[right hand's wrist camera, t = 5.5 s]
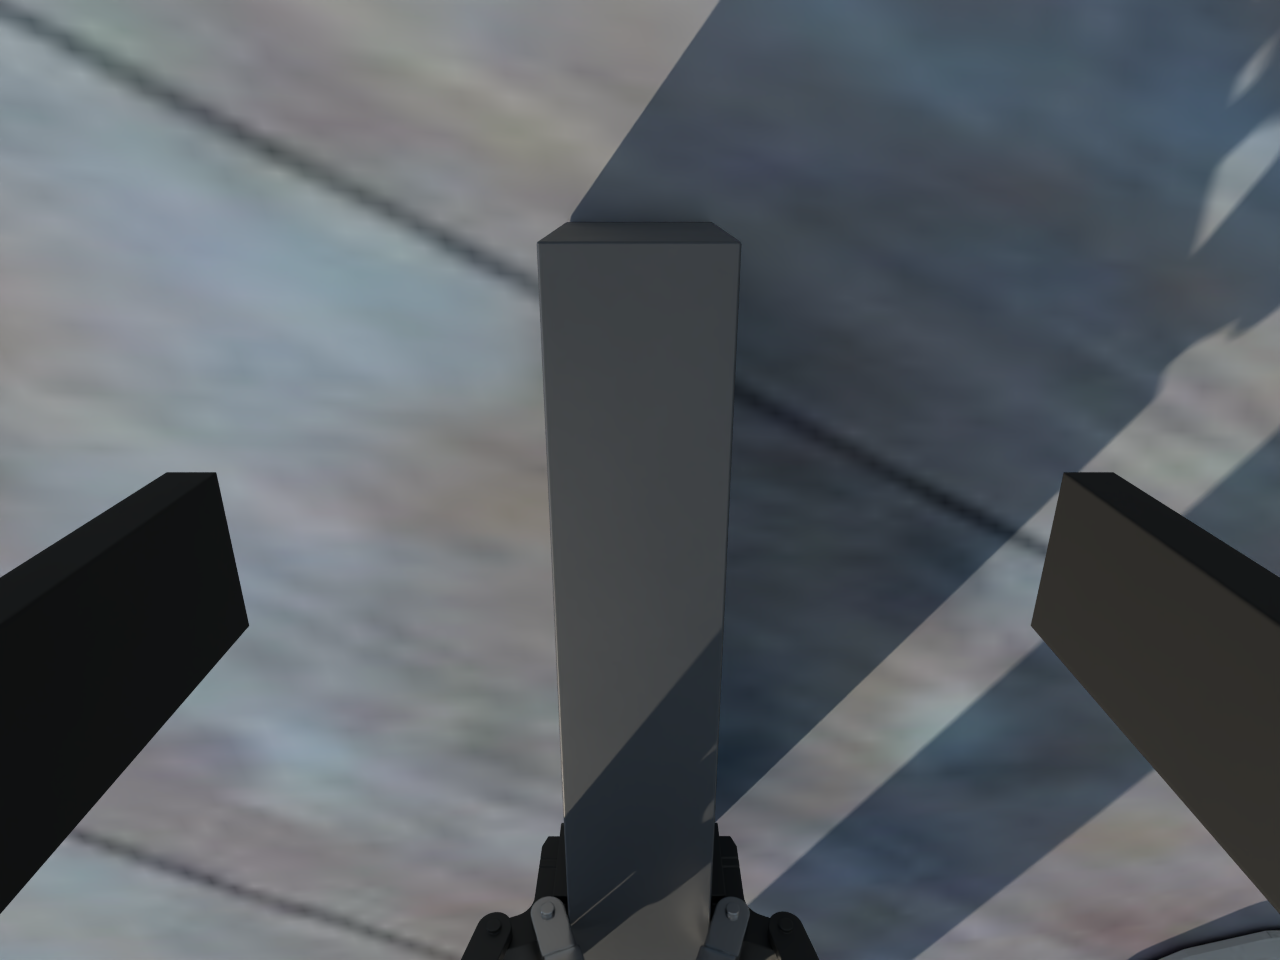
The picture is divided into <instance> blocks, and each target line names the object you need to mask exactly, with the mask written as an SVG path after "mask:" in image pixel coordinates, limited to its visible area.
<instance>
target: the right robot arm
mask: <svg viewBox="0 0 1280 960" xmlns="http://www.w3.org/2000/svg"><path fill="white" fill-rule="evenodd" d="M248 626H249V623H248V618H247V614H246V609H245V604H244V600H243V595H242V590H241V586H240V581H239V576H238V572H237V567H236V562H235V558H234V553H233V548H232V544H231V539H230V534H229V530H228V525H227V521H226V516H225V511H224V507H223V502H222V497H221V493H220V488H219V483H218V479H217V474H216V472H167V473H165V474H163V475H162V476H160V477H159V478H157V479H156V480H154V481H152V482H151V483H149V484H148V485H146V486H144V487H143V488H141V489H140V490H138V491H137V492H135V493H133V494H132V495H130V496H129V497H127V498H126V499H124V500H122V501H121V502H119V503H118V504H116V505H114V506H113V507H111V508H110V509H108V510H107V511H105V512H103V513H102V514H100V515H99V516H97V517H95V518H94V519H92V520H91V521H89V522H88V523H86V524H84V525H83V526H81V527H80V528H78V529H76V530H75V531H73V532H72V533H70V534H69V535H67V536H65V537H64V538H62V539H61V540H59V541H57V542H56V543H54V544H53V545H51V546H50V547H48V548H46V549H45V550H43V551H42V552H40V553H39V554H37V555H35V556H34V557H32V558H31V559H29V560H27V561H26V562H24V563H23V564H21V565H20V566H18V567H16V568H15V569H13V570H12V571H10V572H8V573H7V574H5V575H4V576H2V577H1V578H0V914H1V912H2V911H3V910H4V909H5V908H6V907H7V906H8V904H9V903H10V902H11V901H12V900H13V899H14V897H15V896H16V895H17V894H18V893H19V892H20V890H21V889H22V888H23V887H24V886H25V885H26V884H27V882H28V881H29V880H30V879H31V878H32V877H33V875H34V874H35V873H36V872H37V871H38V870H39V868H40V867H41V866H42V865H43V864H44V863H45V862H46V860H47V859H48V858H49V857H50V856H51V855H52V853H53V852H54V851H55V850H56V849H57V848H58V846H59V845H60V844H61V843H62V842H63V841H64V840H65V838H66V837H67V836H68V835H69V834H70V833H71V831H72V830H73V829H74V828H75V827H76V826H77V824H78V823H79V822H80V821H81V820H82V819H83V818H84V816H85V815H86V814H87V813H88V812H89V811H90V809H91V808H92V807H93V806H94V805H95V804H96V802H97V801H98V800H99V799H100V798H101V797H102V796H103V794H104V793H105V792H106V791H107V790H108V789H109V787H110V786H111V785H112V784H113V783H114V782H115V780H116V779H117V778H118V777H119V776H120V775H121V774H122V772H123V771H124V770H125V769H126V768H127V767H128V765H129V764H130V763H131V762H132V761H133V760H134V758H135V757H136V756H137V755H138V754H139V753H140V752H141V750H142V749H143V748H144V747H145V746H146V745H147V743H148V742H149V741H150V740H151V739H152V738H153V736H154V735H155V734H156V733H157V732H158V731H159V730H160V728H161V727H162V726H163V725H164V724H165V723H166V721H167V720H168V719H169V718H170V717H171V716H172V714H173V713H174V712H175V711H176V710H177V709H178V708H179V706H180V705H181V704H182V703H183V702H184V701H185V699H186V698H187V697H188V696H189V695H190V694H191V692H192V691H193V690H194V689H195V688H196V687H197V686H198V684H199V683H200V682H201V681H202V680H203V679H204V677H205V676H206V675H207V674H208V673H209V672H210V670H211V669H212V668H213V667H214V666H215V665H216V664H217V662H218V661H219V660H220V659H221V658H222V657H223V655H224V654H225V653H226V652H227V651H228V650H229V648H230V647H231V646H232V645H233V644H234V643H235V642H236V640H237V639H238V638H239V637H240V636H241V635H242V633H243V632H244V631H245V630H246V629H247V628H248ZM1031 626H1032V628H1033V629H1034V630H1035V631H1036V632H1037V633H1038V635H1039V636H1040V637H1041V638H1042V639H1043V640H1044V642H1045V643H1046V644H1047V645H1048V646H1049V647H1050V648H1051V650H1052V651H1053V652H1054V653H1055V654H1056V655H1057V657H1058V658H1059V659H1060V660H1061V661H1062V662H1063V664H1064V665H1065V666H1066V667H1067V668H1068V669H1069V670H1070V672H1071V673H1072V674H1073V675H1074V676H1075V677H1076V679H1077V680H1078V681H1079V682H1080V683H1081V684H1082V686H1083V687H1084V688H1085V689H1086V690H1087V691H1088V692H1089V694H1090V695H1091V696H1092V697H1093V698H1094V699H1095V701H1096V702H1097V703H1098V704H1099V705H1100V706H1101V708H1102V709H1103V710H1104V711H1105V712H1106V713H1107V714H1108V716H1109V717H1110V718H1111V719H1112V720H1113V721H1114V723H1115V724H1116V725H1117V726H1118V727H1119V728H1120V730H1121V731H1122V732H1123V733H1124V734H1125V735H1126V736H1127V738H1128V739H1129V740H1130V741H1131V742H1132V743H1133V745H1134V746H1135V747H1136V748H1137V749H1138V750H1139V752H1140V753H1141V754H1142V755H1143V756H1144V757H1145V758H1146V760H1147V761H1148V762H1149V763H1150V764H1151V765H1152V767H1153V768H1154V769H1155V770H1156V771H1157V772H1158V774H1159V775H1160V776H1161V777H1162V778H1163V779H1164V780H1165V782H1166V783H1167V784H1168V785H1169V786H1170V787H1171V789H1172V790H1173V791H1174V792H1175V793H1176V794H1177V796H1178V797H1179V798H1180V799H1181V800H1182V801H1183V802H1184V804H1185V805H1186V806H1187V807H1188V808H1189V809H1190V811H1191V812H1192V813H1193V814H1194V815H1195V816H1196V818H1197V819H1198V820H1199V821H1200V822H1201V823H1202V824H1203V826H1204V827H1205V828H1206V829H1207V830H1208V831H1209V833H1210V834H1211V835H1212V836H1213V837H1214V838H1215V840H1216V841H1217V842H1218V843H1219V844H1220V845H1221V846H1222V848H1223V849H1224V850H1225V851H1226V852H1227V853H1228V855H1229V856H1230V857H1231V858H1232V859H1233V860H1234V862H1235V863H1236V864H1237V865H1238V866H1239V867H1240V868H1241V870H1242V871H1243V872H1244V873H1245V874H1246V875H1247V877H1248V878H1249V879H1250V880H1251V881H1252V882H1253V884H1254V885H1255V886H1256V887H1257V888H1258V889H1259V890H1260V892H1261V893H1262V894H1263V895H1264V896H1265V897H1266V899H1267V900H1268V901H1269V902H1270V903H1271V904H1272V906H1273V907H1274V908H1275V909H1276V910H1277V911H1278V912H1279V914H1280V578H1279V577H1278V576H1276V575H1275V574H1273V573H1272V572H1270V571H1268V570H1267V569H1265V568H1264V567H1262V566H1260V565H1259V564H1257V563H1256V562H1254V561H1253V560H1251V559H1249V558H1248V557H1246V556H1245V555H1243V554H1241V553H1240V552H1238V551H1237V550H1235V549H1234V548H1232V547H1230V546H1229V545H1227V544H1226V543H1224V542H1223V541H1221V540H1219V539H1218V538H1216V537H1215V536H1213V535H1211V534H1210V533H1208V532H1207V531H1205V530H1204V529H1202V528H1200V527H1199V526H1197V525H1196V524H1194V523H1192V522H1191V521H1189V520H1188V519H1186V518H1185V517H1183V516H1181V515H1180V514H1178V513H1177V512H1175V511H1173V510H1172V509H1170V508H1169V507H1167V506H1166V505H1164V504H1162V503H1161V502H1159V501H1158V500H1156V499H1154V498H1153V497H1151V496H1150V495H1148V494H1147V493H1145V492H1143V491H1142V490H1140V489H1139V488H1137V487H1136V486H1134V485H1132V484H1131V483H1129V482H1128V481H1126V480H1124V479H1123V478H1121V477H1120V476H1118V475H1117V474H1115V473H1113V472H1064V474H1063V479H1062V483H1061V488H1060V493H1059V497H1058V502H1057V507H1056V511H1055V516H1054V521H1053V525H1052V530H1051V534H1050V539H1049V544H1048V548H1047V553H1046V558H1045V562H1044V567H1043V572H1042V576H1041V581H1040V586H1039V590H1038V595H1037V600H1036V604H1035V609H1034V614H1033V618H1032V623H1031Z"/></svg>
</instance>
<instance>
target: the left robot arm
mask: <svg viewBox="0 0 1280 960" xmlns="http://www.w3.org/2000/svg"><path fill="white" fill-rule="evenodd" d="M461 960H585V959H584V956H583V953H582V950H581V947H580V945H579V944H578V945H577V944H576V941H575V938H574V935H573V932H572V929H571V926H570V923H569V919H568V898H567V877H566V855H565V834H564V823H562V824H561V830H560V836H549V837H548V838H547V840H546V841H545V843H544V844H543V846H542V851H541V860H540V865H539V872H538V879H537V886H536V893H535V899H534V902H533V904H532V906H531V907H530V908H529V909H528V910H527V911H526V912H524V913H522V914H520V915H518V916H514V917H511V918H509V917H508V916H507V915H506V914H504V913H500V912H494V913H490V914H488V915H486V916H484V917H483V918H482V919H481V920H480V921H479V923H478V925H477V927H476V929H475V931H474V934H473V936H472V938H471V940H470V942H469V944H468V946H467V948H466V950H465V952H464V955H463V957H462V959H461ZM696 960H819V958H818V956H817V954H816V952H815V950H814V948H813V946H812V944H811V942H810V939H809V937H808V935H807V933H806V931H805V929H804V927H803V925H802V923H801V921H800V920H799V919H798V918H797V917H796V916H795V915H793V914H791V913H789V912H778V913H775V914H774V915H772V916H771V918H769V917H765V916H762V915H759V914H757V913H755V912H754V911H752V910H751V909H750V908H749V907H748V906H747V904H746V902H745V900H744V895H743V888H742V881H741V874H740V868H739V860H738V853H737V846H736V845H735V843H734V841H733V840H732V838H731V837H730V836H719V832H718V824H717V823H715V824H714V845H713V867H712V889H711V910H710V927H709V930H708V933H707V936H706V939H705V942H704V945H701V946H700V949H699V952H698V955H697V958H696Z"/></svg>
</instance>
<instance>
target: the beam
mask: <svg viewBox="0 0 1280 960" xmlns="http://www.w3.org/2000/svg"><path fill="white" fill-rule="evenodd" d="M537 259H538V280H539V301H540V323H541V344H542V365H543V387H544V408H545V429H546V451H547V472H548V493H549V514H550V536H551V557H552V578H553V600H554V621H555V642H556V664H557V685H558V706H559V728H560V749H561V770H562V792H563V813H564V834H565V855H566V877H567V898H568V919H569V923H570V926H571V929H572V932H573V935H574V938H575V941H576V944H577V945H578V944H579V945H580V947H581V950H582V953H583V956H584V959H585V960H696V958H697V955H698V952H699V949H700V946H701V945H704V942H705V939H706V936H707V933H708V930H709V927H710V910H711V889H712V867H713V845H714V824H715V802H716V781H717V759H718V737H719V716H720V694H721V672H722V651H723V629H724V607H725V586H726V564H727V542H728V521H729V499H730V477H731V456H732V434H733V413H734V391H735V369H736V348H737V326H738V304H739V283H740V261H741V242H740V241H738V240H737V239H735V238H734V237H732V236H731V235H730V234H728V233H727V232H725V231H724V230H722V229H721V228H719V227H718V226H717V225H715V224H714V223H712V222H567V223H565V224H563V225H562V226H561V227H559V228H558V229H556V230H555V231H553V232H552V233H550V234H549V235H547V236H546V237H544V238H543V239H541V240H540V241H538V242H537Z"/></svg>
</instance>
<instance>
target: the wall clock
mask: <svg viewBox="0 0 1280 960" xmlns="http://www.w3.org/2000/svg"><path fill="white" fill-rule="evenodd" d="M1159 960H1280V930H1271V931H1262V932H1258V933H1253V934H1249V935H1245V936H1240V937H1236V938H1231V939H1227V940H1222V941H1218V942H1214V943H1209V944H1205V945H1200V946H1196V947H1191V948H1187V949H1183V950H1181V951H1178V952H1176V953H1173V954H1171V955H1169V956H1166V957H1164V958H1161V959H1159Z"/></svg>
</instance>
